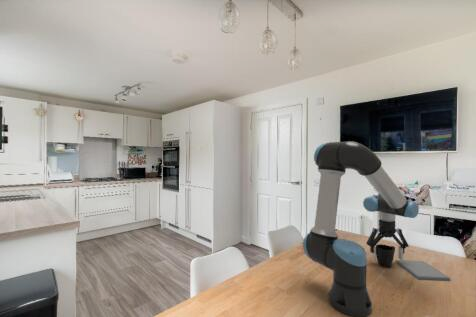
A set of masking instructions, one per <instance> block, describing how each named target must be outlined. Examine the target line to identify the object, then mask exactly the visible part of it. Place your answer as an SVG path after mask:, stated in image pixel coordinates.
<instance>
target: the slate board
mask: <svg viewBox="0 0 476 317" xmlns="http://www.w3.org/2000/svg"><path fill="white" fill-rule="evenodd" d="M395 263H396V265H397V264H398V265H399V266H400V267H401V268H402V269H404V270H405V271H406V272H407V273H409V274H410V275H411V276H413V277H414V278H415V279H416V280H418V281H419V280H421V281H422V280H425V281H441V282H442V281H446V282H450V281H451V277H450V276H447V275H446V274H445V273H443V272H441V271H440V270H438V269H436V268H435V267H434V266H432V265H430V264H429V263H427V262H425V261H423V260H404V259H403V261H401V260H400V259H395Z"/></svg>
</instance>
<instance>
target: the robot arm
mask: <svg viewBox="0 0 476 317" xmlns="http://www.w3.org/2000/svg"><path fill="white" fill-rule="evenodd" d="M313 160H314V164H315V165H316V166H317V171H318V172H319V173H320V178H319V186H318V193H317V194H318V195H317V203H316V211H315V217H314V218H315V220H314V225H313V227H311V228H310V231H309V232H308V233H307V234H306V235H305V236H304V238H303V241H302V247H303V248H302V249H303V252H304V254H305V255H306V256H307V257H308V258H309V259H310V260H311V261H313V262H315V263H318V264H319V265H322V266H323V267H325V268H327V269H329V270H331V271H333V273H332V275H333V278H332V279H333V280H332V281H333V282H332V284H331V287H330V288H329V293H328V302H329V304H330V306H331V307H332V308H334V309H335V310H336V311H338V312H340V313H342V314H344V315H347V316H350V317H367V316H370V315H371V314H372V312H373V304H372V300H371V297H370V294H369V291H368V289H367V267H368V266H367V264H368V258H367V252H366V250H365V248H364V246H362V245H361V244H359V243H358V242H356V241H354V240H347V239H345V238H338V237H339V235H338V233H337V232H336V223H337V215H338V204H339V198H340V196H339V195H340V189H341V182H342V180H341V179H342V177H343V176H344V175H346V170H347V169H349V170H350V169H351V170H354V171H356V172H357V173H358V174H359V175H361V176H362V177H363V176H364V177H365V178H366V179H367V181H368V182H369V183H370V184H371V186H372V187H373V188H374V189H375V190H376V192H377V194H378V195H370V196H367V197H365V198H364V199H363V201H362V205H363V208H364V209H365V210H366V211H367V212H371V213H375V212H378V228H375V227H373V228H372V231H371V233H370V235H369V237H368V239H367V241H366V245H367V246H369V247H370V248H369V249H370V253H371V258H372V259H373V260H374V261H376V260H377V257H376V245H378V244H379V242H380V241H381V240H382V239H383V238H393V239H394V240H395V242H396V243H397V244H398V245H399V246H398V249H397V250H398V251H397V252H398V257H397V258H398V260H401V261H403V260H404V254H405V250H406V249H407V248H409V243H408V242H407V240H406V238H405V237H404V234H403V230H402V229H401V228H399V227H397V228H396V216H399V217H403V218H410V219H413V218H417V216H418V215H419V211H420V206H419V204H418V203H417V202H416V201H412V200H408V199H407V198H406V197H405V195H404V194H403V193H402V192H401V190H400V189H399V188H398V186H397V185H396V184H395V182H394V181H393V179H392V178H391V177H390V176H389V174H388V173H387V172H386V171H385V169H384V167H383V166H382V161H381V159H380V157H378V156H377V154H376V153H374V152H373V151H372V150H371V149H370V148H368V147H367V146H365V144H364V145H363V144H362V143H359V142H357V141H355V140H354V141H353V140H352V141H351V140H348V141H335V142H333V141H332V142H331V141H330V142H325V143H322V144H319V146H317V148H316V149H315V151H314V153H313ZM396 233H397V235H398V236H399V238H400V239H399V238H398V237H397V235H396Z"/></svg>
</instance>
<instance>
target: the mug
mask: <svg viewBox="0 0 476 317" xmlns="http://www.w3.org/2000/svg"><path fill="white" fill-rule="evenodd" d="M375 247H376V260H377V263H378V265H379V266H380V267H384V268H391V267H392V265H393V260H394V255H395V252H396V247H395V246H393V245H391V246H390V245H387V244H382V243H381V244H380V243H378V244H376V245H375Z"/></svg>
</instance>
